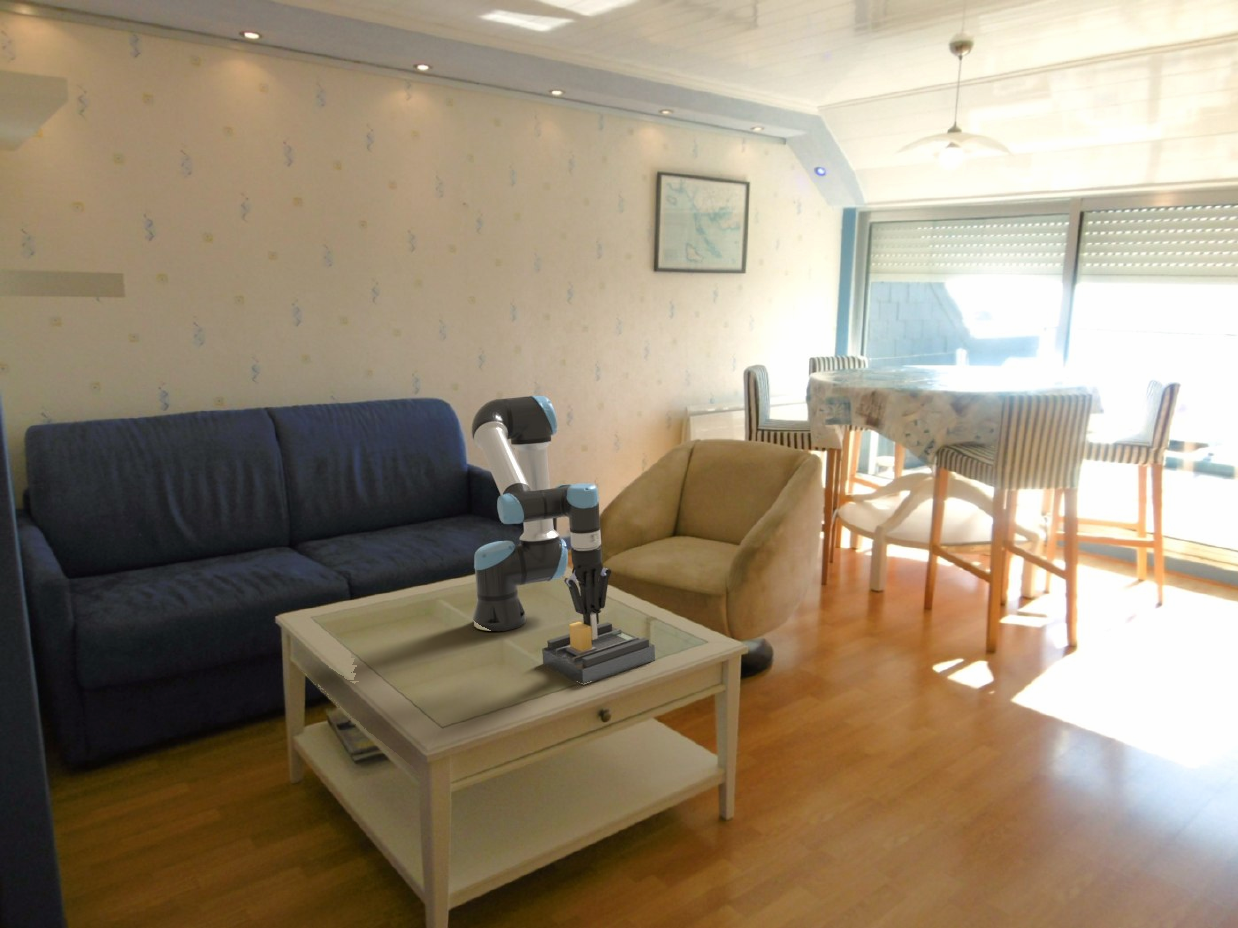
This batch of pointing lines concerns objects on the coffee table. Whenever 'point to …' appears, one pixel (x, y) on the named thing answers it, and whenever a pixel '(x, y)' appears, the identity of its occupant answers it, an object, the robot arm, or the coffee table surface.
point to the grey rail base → (578, 672)
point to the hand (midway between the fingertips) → (592, 637)
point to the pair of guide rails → (604, 654)
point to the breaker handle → (580, 639)
